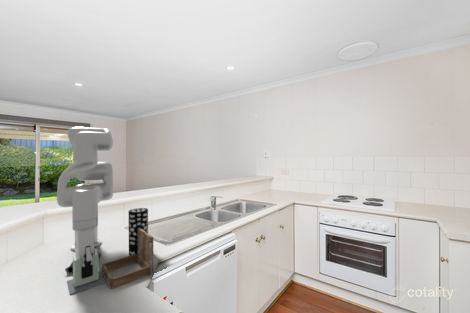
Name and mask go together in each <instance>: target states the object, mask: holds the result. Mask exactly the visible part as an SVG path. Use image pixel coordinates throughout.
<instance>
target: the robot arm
mask: <svg viewBox="0 0 470 313" xmlns="http://www.w3.org/2000/svg"><path fill="white" fill-rule="evenodd" d="M67 137H68V141H69V143H70V145H71V146H72V149H73V150H72V151H73V153H72V156H73V157H72V163H71V164H70V165H68V166H67V167H66V168H65V169H64V170H63V172H61V174H60V175H59V177H58V180H57V191H56V202H57V205H58V206H59V207H61V208H72V213H71V214H72V231H74V243H73V244H71V246H70V249H71V250H72V251H74V252H75V254H74V255H76V257H77V259H78V260H80V259H82V266H83V267H81V269H82V279H84V278H87V277H90V276H92V275H93V264H92V256H94V255H95V250H96V247H99V246H100V245H101V244H102V240H101V239H100V238H98V233H99V232H98V226H99V203H100V202H104V201H109V200H111V199H112V198H113V196H114V171H113V165H112V164H111V162H109V161H98V151H110V150H111V149H112V148H113V144H114V143H113V142H114V140H113V135H112V132H111V130H110V129H108V128H106V127H103V128H102V127H91V126H90V127H88V126H87V127H85V126H74V127H71V128H68V130H67ZM74 177H76V179H77V180H78V181H81V182H86V183H80V184H76V185H75V186H68V182H69V181H70V180H71V179H73V178H74ZM87 181H88V183H87ZM89 181H102V182H89ZM85 255H86V257H84V256H85ZM84 259H86V261H84Z"/></svg>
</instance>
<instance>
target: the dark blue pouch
mask: <svg viewBox="0 0 470 313" xmlns="http://www.w3.org/2000/svg"><path fill="white" fill-rule="evenodd" d="M96 251H97V250H96ZM97 253H98V254H99V259H100V257H101V255H102V254H101V253H100V251H97ZM64 270H65V272H66V274H67V275H68V274H70V273H73V261H72V262H71V263H70V265H69V266H67V267H66V268H65V269H64Z"/></svg>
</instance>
